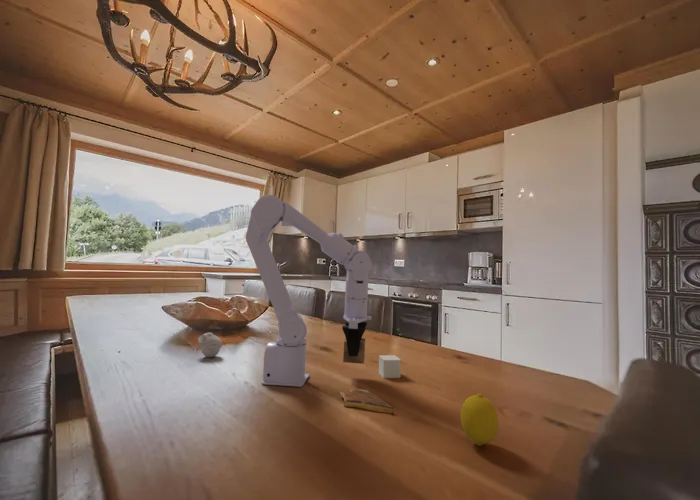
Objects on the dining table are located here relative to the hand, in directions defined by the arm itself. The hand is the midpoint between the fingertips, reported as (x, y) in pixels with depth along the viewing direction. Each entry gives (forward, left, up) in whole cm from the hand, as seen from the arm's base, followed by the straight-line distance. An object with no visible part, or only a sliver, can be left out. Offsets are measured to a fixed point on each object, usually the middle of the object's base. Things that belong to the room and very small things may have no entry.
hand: (353, 352), depth 81 cm
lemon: (+22, -28, -6) cm, 36 cm away
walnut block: (0, 0, -2) cm, 2 cm away
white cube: (+9, +4, -6) cm, 12 cm away
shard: (+4, -14, -7) cm, 16 cm away
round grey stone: (-43, +10, -6) cm, 44 cm away
